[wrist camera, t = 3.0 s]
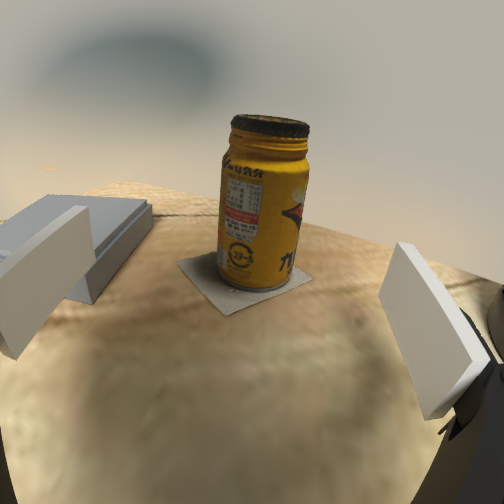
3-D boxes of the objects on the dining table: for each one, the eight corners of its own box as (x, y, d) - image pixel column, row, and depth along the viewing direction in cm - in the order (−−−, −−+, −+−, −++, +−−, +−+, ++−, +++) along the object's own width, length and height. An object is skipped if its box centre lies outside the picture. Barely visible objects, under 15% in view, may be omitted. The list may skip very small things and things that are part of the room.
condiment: (313, 280, 24) (343, 128, 18) (224, 318, 19) (238, 121, 13) (257, 242, 29) (271, 114, 23) (175, 265, 24) (175, 112, 18)
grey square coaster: (152, 226, 30) (151, 198, 28) (92, 304, 18) (83, 267, 17) (51, 216, 30) (47, 193, 29) (-21, 274, 19) (-30, 245, 17)
